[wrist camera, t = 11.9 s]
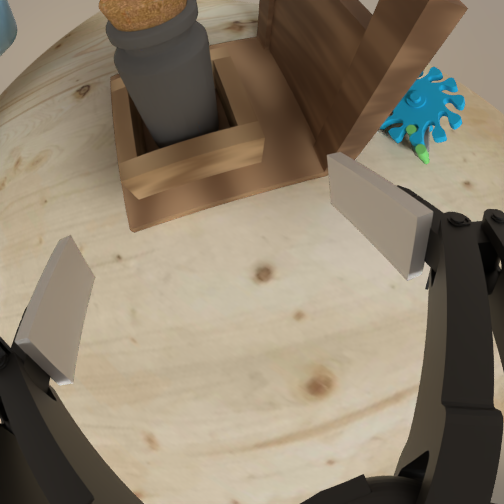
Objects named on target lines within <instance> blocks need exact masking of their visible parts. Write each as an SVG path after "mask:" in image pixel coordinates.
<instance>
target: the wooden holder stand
mask: <svg viewBox="0 0 504 504" xmlns="http://www.w3.org/2000/svg"><path fill="white" fill-rule="evenodd" d="M467 9H468V8H467V7H466V6H465V5H464V4H463V3H462V2H461V1H460V0H379V2H378V4H377V6H376V9H375V11H374V13H373V15H372V14H371V13H370V12H369V11H368V10H367V9H366V8H365V7H364V6H363V5H362V4H361V2H360V1H359V0H260V2H259V16H258V31H257V37H253V38H247V39H241V40H235V41H230V42H225V43H220V44H215V45H210V46H209V49H210V57H211V64H212V72H213V80H214V87H215V95H216V102H217V111H218V120H219V129H218V131H216V132H213V133H209V134H206V135H202V136H199V137H195V138H192V139H189V140H185V141H182V142H179V143H176V144H173V145H170V146H167V147H164V148H161V149H160V148H159V147H158V146H157V144H156V142H155V141H154V139H153V137H152V135H151V134H150V132H149V130H148V128H147V126H146V125H145V123H144V121H143V119H142V117H141V115H140V113H139V112H138V110H137V108H136V106H135V104H134V102H133V100H132V98H131V96H130V94H129V92H128V91H127V89H126V87H125V85H124V83H123V81H122V79H121V77H120V75H119V74H117V75H114V76H112V77H111V81H110V83H111V100H112V113H113V124H114V134H115V143H116V151H117V159H118V166H119V173H120V179H121V183H122V189H123V195H124V201H125V206H126V212H127V217H128V222H129V227H130V230H131V231H133V232H137V231H140V230H143V229H146V228H149V227H152V226H155V225H158V224H161V223H164V222H167V221H170V220H173V219H176V218H179V217H182V216H185V215H189V214H192V213H195V212H198V211H201V210H205V209H208V208H211V207H214V206H218V205H221V204H224V203H228V202H231V201H235V200H238V199H241V198H245V197H248V196H252V195H255V194H259V193H262V192H266V191H270V190H273V189H277V188H281V187H284V186H288V185H292V184H296V183H300V182H303V181H307V180H311V179H315V178H319V177H323V176H327V175H329V173H328V162H327V155H329V154H333V153H338V152H341V153H343V154H345V155H346V156H348V157H350V158H352V159H353V160H355V159H356V158H357V156H358V155H359V154H360V152H361V151H362V150H363V149H364V147H365V146H366V145H367V143H368V142H369V141H370V140H371V138H372V137H373V136H374V134H375V133H376V132H377V131H378V129H379V128H380V127H381V125H382V124H383V123H384V122H385V120H386V119H387V118H388V116H389V115H390V114H391V112H392V111H393V110H394V109H395V107H396V106H397V105H398V103H399V102H400V101H401V99H402V98H403V97H404V95H405V94H406V93H407V91H408V90H409V89H410V87H411V86H412V85H413V83H414V82H415V81H416V79H417V78H418V77H419V75H420V74H421V73H422V71H423V70H424V69H425V67H426V66H427V65H428V63H429V62H430V61H431V59H432V58H433V57H434V55H435V54H436V52H437V51H438V50H439V48H440V47H441V46H442V44H443V43H444V41H445V40H446V39H447V37H448V36H449V35H450V33H451V32H452V30H453V29H454V27H455V26H456V25H457V23H458V22H459V21H460V19H461V18H462V16H463V15H464V14H465V12H466V11H467Z"/></svg>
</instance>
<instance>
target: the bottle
mask: <svg viewBox="0 0 504 504" xmlns="http://www.w3.org/2000/svg"><path fill="white" fill-rule="evenodd" d="M99 9H100V10H101V12H102V13H103V14H104V15H105V16H106V18H107V19H108V22H107V25H106V33H107V36H108V38H109V40H110V42H111V43H112V44H113V45H114V46H116V47H117V49H116V51H115V55H114V63H115V66H116V68H117V70H118V73H119V75H120V77H121V79H122V81H123V83H124V85H125V87H126V89H127V91H128V92H129V94H130V96H131V98H132V100H133V102H134V104H135V106H136V108H137V110H138V112H139V113H140V115H141V117H142V119H143V121H144V123H145V125H146V126H147V128H148V130H149V132H150V134H151V135H152V137H153V139H154V141H155V142H156V144H157V146H158V147H159V148H160V149H161V148H164V147H167V146H170V145H173V144H176V143H179V142H182V141H185V140H189V139H192V138H195V137H199V136H202V135H206V134H209V133H213V132H216V131H218V129H219V120H218V111H217V102H216V95H215V87H214V80H213V72H212V64H211V57H210V49H209V42H208V36H207V32H206V30H205V28H204V27H203V26H202V25H201V24H200V23H199V22H197V21H196V19H197V16H198V8H197V2H196V0H100V2H99Z"/></svg>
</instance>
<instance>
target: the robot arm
mask: <svg viewBox="0 0 504 504" xmlns="http://www.w3.org/2000/svg"><path fill="white" fill-rule="evenodd" d="M16 35H17V25H16V22H15V19H14V17H13V14H12V11H11V8H10V6H9V4H8V1H7V0H0V56H1V55H2V54H3V53H4V52H5V51H6V50H7V49H8V48H9V47H10V46H11V45H12V43H13V42H14V40H15V38H16ZM327 162H328V173H329V185H330V198H331V204H332V205H333V206H334V207H335V208H336V209H337V210H338V211H339V212H340V213H341V214H342V215H343V216H344V217H346V218H347V219H348V220H349V221H350V222H351V223H352V224H353V225H354V226H355V227H356V228H357V229H358V230H359V231H360V232H361V233H362V234H363V235H364V236H365V237H366V238H367V239H368V240H369V241H370V242H371V243H372V244H373V245H374V246H375V247H376V248H377V249H378V250H379V251H380V252H381V253H382V254H383V256H384V257H385V258H386V259H387V260H388V261H389V262H390V263H391V264H392V265H393V266H394V267H395V268H396V269H397V270H398V271H399V273H400V274H401V275H402V276H403V277H404V278H405V279H406V280H407V281H408V280H410V279H413V278H415V277H417V276H419V275H421V274H422V272H423V267H424V262H426V263H427V264H428V265H429V266H430V267H431V268H430V273H429V277H428V281H427V284H426V288H425V289H427V290H428V288H429V297H428V317H427V330H426V341H425V351H424V359H423V367H422V373H421V380H420V386H419V392H418V397H417V403H416V408H415V412H414V417H413V422H412V426H411V430H410V434H409V437H408V440H407V443H406V445H405V447H404V449H403V451H402V453H401V456H400V458H399V461H398V464H397V467H396V471H395V474H394V476H376V477H369V478H365V476H364V474H363V475H360V476H358V477H356V478H354V479H351V480H349V481H346V482H344V483H342V484H339V485H337V486H334V487H331V488H329V489H326V490H323V491H320V492H319V493H317V494H316V495H314V496H312V497H311V498H309V499H307V500H306V501H304V502H302V503H300V504H494V503H490V501H491V497H492V493H493V488H494V484H495V480H496V475H497V469H498V464H499V458H500V451H501V443H502V434H503V415H502V413H501V411H500V410H498V409H496V408H495V407H494V403H493V397H494V354H493V336H492V331H493V334H494V337H495V341H496V344H497V348H498V351H499V355H500V359H501V363H502V367H503V371H504V213H503V212H502V211H500V210H497V209H487V210H486V211H484V215H483V220H482V221H477V222H471V220H470V219H469V218H468V217H466V216H465V215H463V214H460V213H457V212H446V213H443V212H441V211H440V210H438V209H437V208H436V207H434V206H433V205H431V204H430V203H429V202H427V201H426V200H423V198H421V197H420V196H417V194H415V193H414V192H412V191H411V190H409V189H407V188H404V187H401V186H399V185H397V186H396V185H394V184H393V183H391V182H389V181H388V180H386V179H385V178H383V177H382V176H380V175H378V174H377V173H375V172H374V171H372V170H370V169H369V168H367V167H365V166H364V165H362V164H360V163H359V162H357V161H355V160H353V159H352V158H350V157H348V156H346V155H345V154H343V153H341V152H338V153H333V154H329V155H327ZM500 260H501V264H502V267H501V269H500V267H499V263H500ZM94 279H95V276H94V274H93V273H92V271H91V269H90V268H89V266H88V264H87V263H86V261H85V259H84V258H83V256H82V254H81V252H80V251H79V249H78V247H77V245H76V243H75V242H74V240H73V238H72V236H71V235H70V236H67V237H65V238H63V239H60V240H59V242H58V243H57V245H56V247H55V249H54V251H53V253H52V255H51V257H50V259H49V261H48V263H47V265H46V267H45V269H44V271H43V273H42V275H41V277H40V279H39V281H38V284H37V286H36V288H35V290H34V293H33V295H32V297H31V300H30V302H29V304H28V306H27V307H26V309H25V311H24V314H23V316H22V320H21V321H20V324H19V327H18V329H17V332H16V335H15V338H14V340H13V343H12V346H11V348H10V347H9V346H8V345H7V343H6V342H5V341H4V340H3V339H2V338H1V337H0V418H1V422H2V423H0V504H144V503H143V502H142V501H141V500H140V499H139V498H138V497H137V496H136V495H135V494H134V493H133V492H132V491H131V490H130V489H129V488H128V487H127V486H126V485H125V484H124V483H123V482H122V481H121V480H120V478H119V477H118V476H117V475H116V474H115V473H114V472H113V471H112V469H111V468H110V467H109V466H108V465H107V464H106V462H105V461H104V460H103V459H102V457H101V456H100V455H99V454H98V453H97V451H96V450H95V449H94V447H93V446H92V445H91V443H90V442H89V441H88V439H87V438H86V437H85V435H84V434H83V433H82V431H81V430H80V428H79V427H78V426H77V424H76V423H75V421H74V420H73V418H72V417H71V415H70V414H69V412H68V411H67V409H66V408H65V406H64V405H63V403H62V401H61V400H60V398H59V396H58V395H57V393H56V391H55V390H54V389H53V388H52V387H51V386H50V385H49V380H50V377H51V378H52V379H53V380H54V381H55V382H56V383H57V384H58V385H65V384H71V383H73V381H74V374H75V367H76V361H77V355H78V350H79V344H80V339H81V334H82V329H83V324H84V320H85V315H86V311H87V307H88V303H89V299H90V295H91V291H92V287H93V283H94Z"/></svg>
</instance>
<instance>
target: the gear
mask: <svg viewBox="0 0 504 504" xmlns="http://www.w3.org/2000/svg"><path fill="white" fill-rule="evenodd" d="M422 75H423V71H422V73H421V74H420V75H419V77H421V76H422ZM419 77H418V78H419ZM442 78H443V75H442V73H441V71H440V70H439V69H437V68H436V67H432V68H431V69H430V71H429V73H428V74H427V75H426V76H425V77H423V78H421V79H416V81H415V82H414V83H413V85H412V86H411V87H410V89H409V90H408V91H407V93H406V94H405V95H404V97H403V98H402V99H401V101H400V102H399V103H398V105H397V106H396V107H395V109H394V110H393V111H392V113H393V115H392V116H390V117H388V118H387V119H386V120H385V122H384V123H383V124H382V125H381V127H380V129H385V128H387V127H388V126H390V125H392V124H395V123H403V125H402V126H401V127H394V128H391V129H390V130H389V131H388V132H389V134H390V136H391V137H392V139H393V140H394V141H395V142H396V143H399V142H401V141H402V139H403V137H404V135H405V134H406V133H408V135H409V137H410V138H409V140H410V142H411V144H412V150H413V152H414V154H415V155H416V156H417V157H419V158H420V159H421V160H423V162H424V163H425V164H428V163H429V158H428V157H429V154H428V153H429V132H431V131H432V130H433V126H432V125H434V126H435V128H434V130H433V131H432V136H433V138H434V141H435V142H437V143H439V142H444V141H446V140H447V137H446V134H445V131H444V130H443V129H442V128H441V126H440V118H441V117H442V116H447V117H448V120H449V123H450V126H451V128H453V129H457V128H458V127H460V126H461V124H462V120H461V117H460V116H459V115H458V114H456V113H453V112H451V111H450V110H448V109H447V108H446V106H445V104H447V103H452V104H453V105H454V106H455V108H456V109H458V110H463V109H464V106H465V100H464V97H463V96H462V95H448V94H445V93H443V92H442V91H443V90H448V91H450V92H457V91H458V89H457V85H456V82H455V80H454V78H448V79H447V80H445V81H443V82H440V83H431V82H432V81H438V80H441V79H442Z"/></svg>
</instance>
